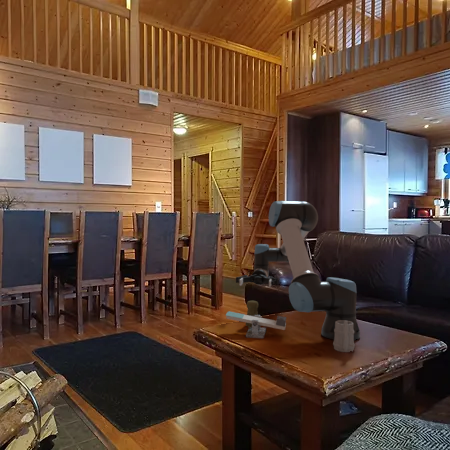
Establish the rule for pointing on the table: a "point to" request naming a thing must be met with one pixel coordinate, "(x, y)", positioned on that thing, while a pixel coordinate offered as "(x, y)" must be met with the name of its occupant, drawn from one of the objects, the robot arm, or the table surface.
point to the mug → (344, 336)
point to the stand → (255, 330)
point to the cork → (252, 310)
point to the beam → (261, 321)
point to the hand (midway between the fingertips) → (254, 283)
